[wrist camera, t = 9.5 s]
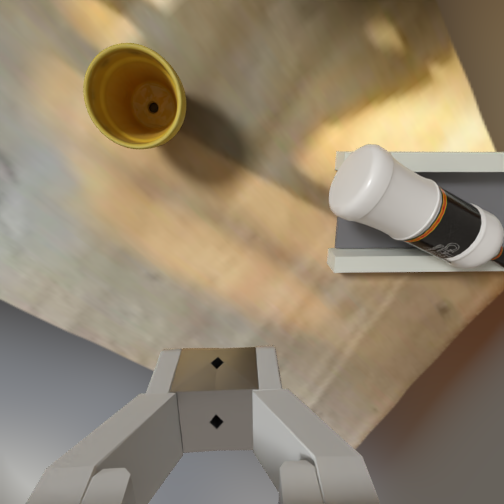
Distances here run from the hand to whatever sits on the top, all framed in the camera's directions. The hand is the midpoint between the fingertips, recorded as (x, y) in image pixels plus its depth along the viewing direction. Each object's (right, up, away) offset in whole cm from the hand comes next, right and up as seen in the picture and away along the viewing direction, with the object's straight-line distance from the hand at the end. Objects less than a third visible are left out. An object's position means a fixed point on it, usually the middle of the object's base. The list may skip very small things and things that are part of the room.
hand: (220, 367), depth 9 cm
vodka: (+12, +12, +29) cm, 34 cm away
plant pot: (-12, +23, +34) cm, 43 cm away
